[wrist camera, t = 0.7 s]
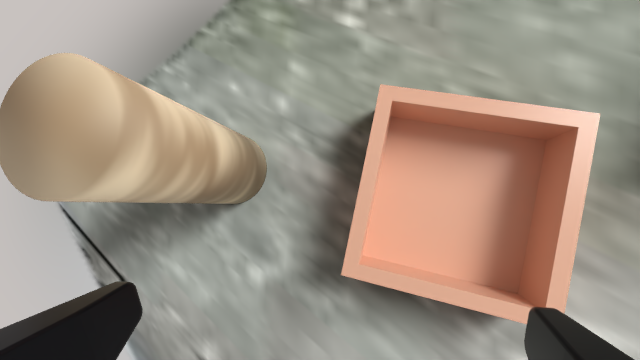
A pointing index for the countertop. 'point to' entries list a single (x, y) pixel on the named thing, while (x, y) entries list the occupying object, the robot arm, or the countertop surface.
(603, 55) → the countertop surface
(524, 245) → the box
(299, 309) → the countertop surface
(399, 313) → the countertop surface
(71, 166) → the beech dowel
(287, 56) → the countertop surface
